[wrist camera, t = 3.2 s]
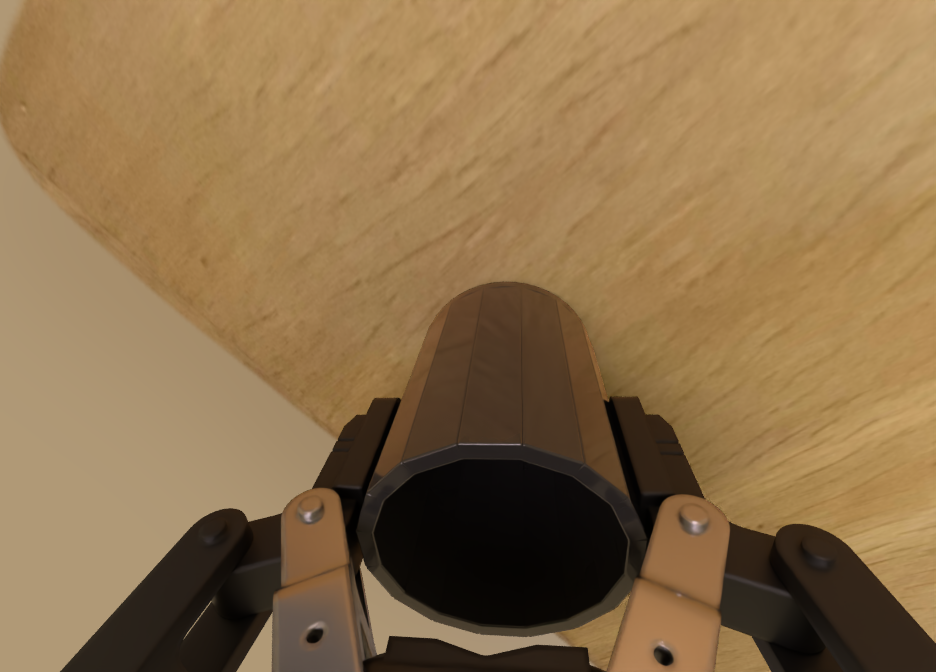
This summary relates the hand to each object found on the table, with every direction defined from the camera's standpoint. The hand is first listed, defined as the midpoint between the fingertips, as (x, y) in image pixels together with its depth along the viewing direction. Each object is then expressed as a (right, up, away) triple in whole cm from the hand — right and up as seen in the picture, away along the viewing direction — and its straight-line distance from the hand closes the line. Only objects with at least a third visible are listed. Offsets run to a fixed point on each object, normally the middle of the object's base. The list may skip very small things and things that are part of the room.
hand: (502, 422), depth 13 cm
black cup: (0, +2, +3) cm, 4 cm away
